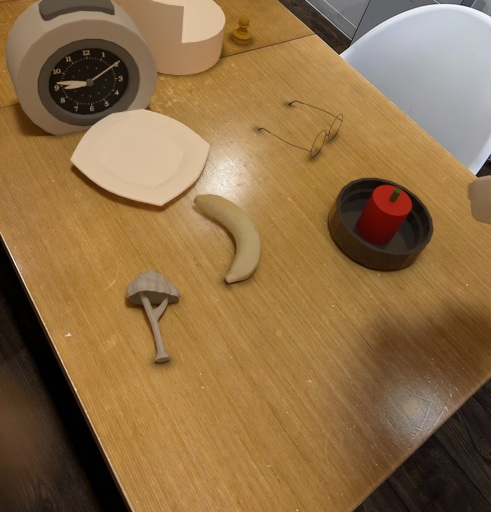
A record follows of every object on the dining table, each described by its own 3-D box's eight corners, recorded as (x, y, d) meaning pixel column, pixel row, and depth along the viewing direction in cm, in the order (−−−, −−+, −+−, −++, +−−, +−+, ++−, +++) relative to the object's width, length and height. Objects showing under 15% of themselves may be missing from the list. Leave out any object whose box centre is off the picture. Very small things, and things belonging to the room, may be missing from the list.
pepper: (398, 244, 77) (424, 206, 70) (362, 245, 76) (385, 206, 69) (385, 214, 81) (409, 175, 74) (351, 215, 79) (372, 175, 72)
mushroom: (140, 355, 56) (127, 262, 61) (130, 368, 60) (119, 278, 65) (197, 350, 60) (180, 262, 65) (184, 362, 63) (169, 278, 68)
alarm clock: (27, 139, 78) (-2, 19, 62) (17, 110, 82) (-13, -12, 66) (156, 117, 86) (159, 6, 70) (142, 91, 90) (142, -21, 74)
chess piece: (229, 34, 105) (232, 11, 101) (246, 33, 106) (250, 11, 102) (235, 45, 103) (239, 22, 99) (252, 44, 104) (257, 21, 100)
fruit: (234, 197, 78) (237, 182, 76) (272, 274, 71) (277, 260, 68) (191, 205, 76) (193, 190, 73) (226, 286, 68) (229, 272, 66)
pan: (437, 238, 80) (450, 220, 77) (385, 289, 73) (398, 272, 69) (364, 183, 85) (373, 164, 82) (308, 225, 77) (316, 206, 74)
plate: (223, 151, 84) (225, 142, 82) (164, 227, 73) (165, 218, 71) (125, 104, 86) (125, 95, 84) (53, 171, 75) (51, 161, 73)
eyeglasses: (254, 132, 88) (259, 109, 84) (291, 102, 95) (298, 79, 91) (306, 165, 85) (315, 142, 81) (340, 131, 92) (350, 109, 88)
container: (230, 75, 97) (241, 8, 86) (125, 74, 92) (123, 3, 81) (210, 18, 108) (218, -47, 97) (116, 15, 102) (112, -55, 92)
